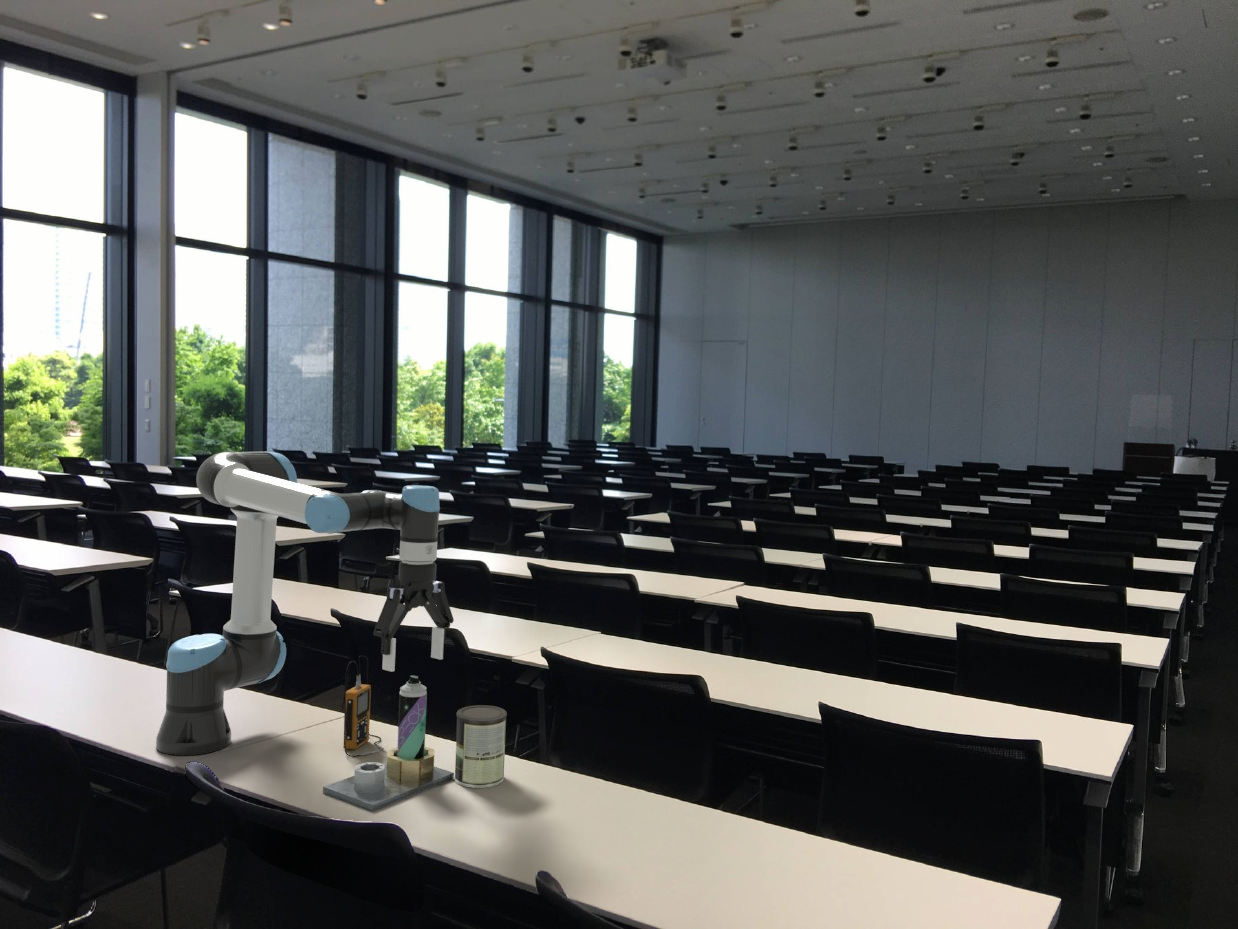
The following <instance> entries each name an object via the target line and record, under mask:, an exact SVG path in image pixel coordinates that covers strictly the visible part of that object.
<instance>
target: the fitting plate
mask: <svg viewBox="0 0 1238 929" xmlns="http://www.w3.org/2000/svg"><path fill="white" fill-rule="evenodd" d="M397 750H398V746H395V747H394V748H390V749H388V750H387V755H386V757H387V758H386V759H387V760H386V764H383V763H380V762H369V761H368V762H362V763H359V764H357V765H355V768H354V775H353V776H350V777H347V778H343V779H341V780H339V781H336V782H334V783H332V782H331V783H330V784H326V785H324V786H323V787H322V793H323V794H325V795H328V796H330V797H333V798H335V799H339V800H341V801H344V802H346V803H349V804H351V805H355V806H357V807H360V808H362V809H366V810H368V811H370V812H374V811H377V810H379V809H381V808H383V807H386V806H389V805H392V804H394V803H396V802H398V801H401V800H404V799H406V798H409V797H411V796H414V795H416V794H418V793H421V792H423V791H426V790H428V789H431V788H434V787H437V786H439V785H441V784H444V783H446V782H449V781H451V780H454V779H453V778H455V772H452V771H449V770H446V769H443V768H440V767H437V766H435V749H434V748H432V747H429V746H428V747H427V746H425V753H424V757H422V758H419V759H402V758H399V757H397Z"/></svg>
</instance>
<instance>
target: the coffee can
mask: <svg viewBox="0 0 1238 929" xmlns="http://www.w3.org/2000/svg"><path fill="white" fill-rule="evenodd" d="M507 716H508V712H507V711H506V710H505V709H504V708H503V707H502V708H501V707H499V706H495V705H485V704H484V705H483V704H478V705H477V704H476V705H469V706H465V707H461V708H459V709H458V710H457V712H456V739H455V765H454V768H455V770H454V779H453V780H454V782H455V783H456V784H457V785H458V786H461V785H462V787H465V788H469V787H472V788H471V789H486V787H488V788H493V787H496V786H498V785H500V784H502V783H503V782H504V780H505V777H504V776H505V775H504V773H505V755H506V754H505V751H506V750H505V749H506V732H507V731H506V730H507V729H506V727H507Z"/></svg>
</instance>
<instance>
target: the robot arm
mask: <svg viewBox="0 0 1238 929" xmlns="http://www.w3.org/2000/svg"><path fill="white" fill-rule="evenodd" d="M297 477H298V476H297V472H296V469H295V467H294V465H293V464H292V463H291V461H290V460H289V458H288V457H286V456H285V455H283V454H282V453H279V452H271V451H266V450H265V451H262V450H261V451H224V452H222V451H221V452H218V453H215V454H212V455H211V456H208V458H206V459H205V460H204V461H203V462H202V464H201V465H200V466H199V468H198V470H197V473H196V481H195V482H196V487H197V489H198V491H199V493H200V495H201V496H202V497H203V498H204V499H205V500H207V501H208V502H210V503H213V504H216V505H220V506H223V507H227V508H230V511H231V512H232V513H233V514H234V515H235V516H236V528H235V529H236V532H235V546H234V548H235V549H234V562H233V563H234V564H233V580H232V595H231V596H232V597H231V609H230V610H231V611H230V612H231V614H230V620H228V621H227V622H226V623H225V624H224V625H223V626H222V627H223V628H222V635H221V634H217V633H203V634H194V635H190V636H186V637H183V638H181V639H178V640H176V641H175V642H173V643H172V644H171V645H170V646H169V649H168V651H167V660H166V664H165V667H166V695H165V696H166V697H165V700H166V702H165V713H164V716H163V719H162V720H161V721H162V722H161V724H160V727H159V731H158V733H157V735H156V743H155V748H156V750H157V749H158V750H159V751H158V750H157V751H158V752H160V753H163V754H167V755H172V754H174V755H173V756H193V755H194V756H195V755H196V756H197V755H203V754H207V753H208V754H209V753H212V752H215V751H217V752H218V751H219V750H221V749H224V748H226V747H228V746H229V745H230V744H231V742H232V730H231V728H230V727H231V726H230V723H229V721H228V718H227V717H228V716H227V714H226V712H225V708H224V703H225V702H224V700H225V699H224V696H225V691H230V690H234V689H238V688H241V687H245V686H249V685H256V684H261V683H262V682H264V681H268V680H270V679H272V678H274V677H276V675H277V674H279V673H280V671H281V670H282V669H283V666H284V664H285V662H286V656H287V647H286V643H285V642H283V641H284V638H283V636H282V634H281V633H280V632H279V631H277V630H278V629H277V625H276V624H275V623H274V622H273V620H271V613H272V597H273V596H272V595H273V583H274V582H273V581H274V567H275V566H274V565H275V552H276V551H275V550H276V538H277V536H276V535H277V521H278V520H277V519H278V518H279V517H281V518H285V519H288V520H292V521H295V522H299V523H302V524H305V525H306V524H307V527H309V528H310V530H311V531H313V533H318V534H329V535H331V534H336V533H344V532H352V531H363V530H364V531H365V530H374V529H390V530H391V529H392V530H398V531H400V533H399V534H400V535H399V540H400V541H399V558H398V559H399V560H400V562H399V563H398V580H399V581H400V586H399V588H396V587H388V588H387V593H386V599H385V601H384V604H383V606H382V610H381V612H380V615H379V617H378V619H377V622H376V624H375V626H374V630H373V632H372V634H373V636H375V637H379V638H380V639H381V640H380V641H381V642H380V643H381V645H380V653H381V655H382V665H381V666H382V670H384V671H388V672H395V670H396V669H395V666H396V649H397V648H396V647H397V646H396V644H397V638H394V636H395V634H396V632H397V631H398V629H399V628H400V627H401V624H402V623H403V621H404V619H405V618H406V617H407V614H408V613H409V612H411V611H412V609H416V608H418V607H422V608H423V607H424V609H425V611H426V613H427V614H428V616H429V617H430V618H431V620H432V622H433V624H435V626H434V625H433V626H432V627H431V628H432V629H431V646H430V647H431V649H430V651H431V652H430V658H432V659H437V660H439V661H440V660H444V643H445V641H446V631H447V630H446V629H449V628H450V627H451V624H453V623H454V616H453V613H452V610H451V608H450V605H449V604H450V603H449V601H448V598H447V595H446V590H445V588H446V586H445V582H444V581H438V580H437V564H436V562H435V561H436V560H437V555H438V538H439V537H438V535H439V534H438V532H439V531H438V530H439V518H440V510H441V506H440V491H439V489H438V488H437V487H435V486H432V485H431V486H430V485H423V484H422V485H417V484H416V485H415V484H412V485H405V486H403V488H402V491H401V493H398V492H397V493H396V492H389V491H384V490H383V491H382V490H380V489H375V490H374V489H371V490H369V489H367V490H363V491H362V492H351V493H339V492H334V491H330V490H325V489H323V488H318V487H314V486H311V485H307V484H305V483H304V484H303V483H299V482H298V478H297Z"/></svg>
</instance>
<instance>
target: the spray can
mask: <svg viewBox="0 0 1238 929" xmlns="http://www.w3.org/2000/svg"><path fill="white" fill-rule="evenodd" d="M421 683H422V682H421V681H420V679H419V676H418V675H414V674H412V675H409V680H408V681H406V683H405V684H404V685H402V686H400V688H399V690H400V691H399V700H398V726H397V727H398V729H397V747H398V750H397V757H399V758H402V759H419V758H422V757H424V753H425V747H426V746H425V745H426V724H427V723H426V722H427V698H428V697H427V696H428V693H427V686H425V685H423V684H421Z"/></svg>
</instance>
